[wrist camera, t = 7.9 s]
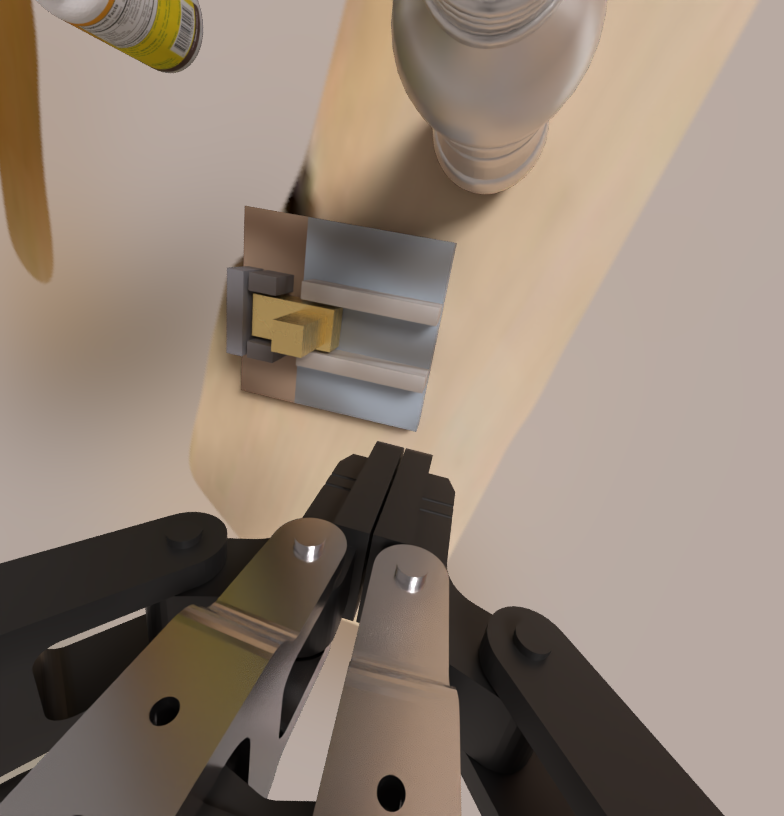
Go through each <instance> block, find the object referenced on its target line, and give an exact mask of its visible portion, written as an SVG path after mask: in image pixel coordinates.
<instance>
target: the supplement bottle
mask: <svg viewBox="0 0 784 816" xmlns="http://www.w3.org/2000/svg"><path fill="white" fill-rule="evenodd" d="M36 1H37V2H38V3H39V4H40V5H41V6H42V7H43V8H45V9H46V10H47V11H48V12H50V13H51V14H53V15H54V16H56V17H58V18H60V19H61V20H63V21H65V22H67V23H69V24H71V25H73V26H75V27H76V28H78V29H80V30H82V31H84V32H86V33H88V34H89V35H92V36H93V37H95V38H97V39H99V40H101V41H103V42H105V43H106V44H108V45H110V46H112V47H114V48H116V49H118V50H120V51H122V52H123V53H125V54H127V55H129V56H131V57H133V58H135V59H137V60H139V61H140V62H142V63H144V64H146V65H148V66H150V67H151V68H154V69H156V70H158V71H161V72H165V73H176V72H179V71H182V70H184V69H186V68H187V67H188V66H189V65H190V64H191V63H192V62H193V61H194V59H195V58H196V56H197V54H198V52H199V50H200V47H201V43H202V37H203V20H202V14H201V9H200V6H199V3H198V0H36Z"/></svg>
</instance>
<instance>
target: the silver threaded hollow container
mask: <svg viewBox="0 0 784 816" xmlns="http://www.w3.org/2000/svg"><path fill="white" fill-rule="evenodd" d="M606 7H607V0H393V7H392V19H391V29H392V46H393V52H394V57H395V62H396V66H397V71H398V74H399V76H400V79H401V81H402V84H403V86H404V89H405V91H406V93H407V95H408V97H409V98H410V100H411V101H412V103H413V105H414V106H415V108H416V109H417V111H418V112H419V113H420V115H421V116H422V117H423V118H424V119H425V121H426V122H427V123H428V124H429V125H430V126H431V127H432V128H433V143H434V148H435V153H436V156H437V158H438V161H439V164H440V166H441V167H442V169H443V170H444V172H445V174H446V175H447V176H448V177H449V178H450V179H451V180H452V181H453V182H454V183H455V184H456V185H458V186H459V187H461V188H462V189H464V190H467V191H470V192H472V193H478V194H493V193H497V192H500V191H504V190H506V189H508V188H510V187H512V186H514V185H515V184H517V183H518V182H519V181H520V180H522V179H523V178H524V177H525V176H526V175H527V174H528V173H529V172H530V170H531V169H532V168H533V167H534V165H535V164H536V162H537V160H538V159H539V157H540V155H541V153H542V150H543V148H544V145H545V143H546V138H547V134H548V129H549V120H550V119H551V118H553V117H554V115H555V114H556V113H557V112H558V111H559V110H560V108H561V107H562V106H563V105H564V104H565V102H566V101H567V100H568V99H569V97H570V96H571V95H572V94H573V92H574V91H575V90H576V88H577V86H578V85H579V83H580V81H581V80H582V78H583V76H584V75H585V73H586V71H587V70H588V68H589V66H590V63H591V61H592V58H593V56H594V53H595V51H596V48H597V46H598V44H599V41H600V37H601V32H602V28H603V24H604V20H605V16H606Z"/></svg>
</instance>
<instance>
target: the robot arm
mask: <svg viewBox="0 0 784 816" xmlns="http://www.w3.org/2000/svg"><path fill="white" fill-rule="evenodd" d="M403 453H404V455H403ZM432 456H433V455H431V454H427V453H423V452H419V451H415V450H411V449H407V448H406V450H405V452H404V448H403V447H399V446H395V445H391V444H387V443H383V442H379V441H377V443H376V444H375V446H374V448H373V450H372V452H371V454H370V455H369V457H368V458H367V457H363V456H359V455H356V454H352V455H351V456H349V457H347V458H345V459H343V460H342V461H340V462H339V463H338V465H337V466H336V468H335V469H334V471H333V472H332V475H330V477H329V478H328V480H327V481H326V484H325V485H324V486H323V487H322V489H321V490H320V492H319V493H318V495H317V496H316V498H315V499H314V501H313V502H312V504H311V506H310V507H309V509H308V510H307V512H306V513H305V515H304V516H303V518H300V519H295V520H292V521H289V522H287V523H285V524H284V525H282V526H281V527H280V528H279V529H278V530H277V531H276V532H275V533H274V534H273V535H272V536H271V538H266V539H233V538H227V529H226V526H225V524H224V523H223V522H222V521H221V520H220V519H218V518H217V517H215V516H213V515H210V514H206V513H201V512H186V513H179V514H175V515H171V516H167V517H164V518H160V519H157V520H154V521H150V522H146V523H143V524H139V525H136V526H132V527H128V528H125V529H122V530H118V531H115V532H111V533H107V534H103V535H100V536H96V537H93V538H89V539H86V540H83V541H79V542H75V543H72V544H68V545H65V546H61V547H58V548H54V549H50V550H47V551H43V552H40V553H36V554H33V555H29V556H25V557H22V558H18V559H15V560H11V561H8V562H4V563H1V564H0V777H1V776H3V775H5V774H7V773H9V772H11V771H13V770H14V769H16V768H18V767H20V766H22V765H24V764H26V763H28V762H30V761H32V760H33V759H35V758H37V757H39V756H41V755H43V754H45V753H47V752H48V753H47V754H46V755H45V756H44V757H43V758H42V759H41V760H40V761H39V762H38V763H37V765H36V766H35V767H34V768H32V769H30V770H28V771H26V772H23V773H21V774H19V775H17V776H15V777H13V778H11V779H9V780H8V781H6V782H4V783H2V784H0V816H461V775H462V777H463V779H464V781H465V783H466V785H467V787H468V789H469V791H470V793H471V795H472V797H473V799H474V801H475V803H476V805H477V808H478V810H479V811H480V813H481V816H724V815H723V814H722V812H721V811H720V810H719V809H718V808H717V807H716V806H715V805H714V804H713V802H712V801H711V800H710V799H709V798H708V797H707V796H706V795H705V793H704V792H703V791H702V790H701V789H700V788H699V786H697V784H696V783H695V782H694V781H693V780H692V779H691V777H690V776H689V775H688V774H687V773H686V772H685V771H684V770H683V768H682V767H681V766H680V765H679V764H678V763H677V762H676V760H675V759H674V758H673V757H672V756H671V755H670V754H669V752H668V751H667V750H666V749H665V748H664V747H663V746H662V745H661V743H660V742H659V741H658V740H657V739H656V738H655V737H654V736H653V734H652V733H651V732H650V731H649V730H648V729H647V728H646V726H645V725H644V724H643V723H642V722H641V721H640V720H639V719H638V717H637V716H636V715H635V714H634V713H633V712H632V711H631V709H630V708H629V707H628V706H627V705H626V704H625V703H624V702H623V700H622V699H621V698H620V697H619V696H618V695H617V694H616V692H615V691H614V690H613V689H612V688H611V687H610V686H609V685H608V684H607V682H606V681H605V680H604V679H603V678H602V677H601V675H600V674H599V673H598V672H597V671H596V670H595V669H594V668H593V666H592V665H591V664H590V663H589V662H588V661H587V660H586V658H585V657H584V656H583V655H582V654H581V653H580V652H579V651H578V649H577V648H576V647H575V646H574V645H573V644H572V643H571V641H570V640H569V639H568V638H567V637H566V636H565V635H564V634H563V632H562V631H561V630H560V629H559V628H558V627H557V626H556V625H555V624H553V623H552V622H551V621H550V620H549V619H547V618H546V617H544V616H543V615H541V614H539V613H537V612H535V611H532V610H530V609H526V608H523V607H515V606H512V607H505V608H502V609H499V610H498V611H496V612H495V613H494V614H493V615H492V614H490V613H489V612H487V611H485V610H483V609H482V608H480V607H479V606H477V605H475V604H474V603H472V602H471V601H469V600H468V599H467V598H465V597H464V596H463V595H462V594H461V593H460V592H459V591H458V590H457V589H456V587H455V586H454V585H453V583H452V581H451V579H450V577H449V575H448V571H447V558H448V549H449V541H450V532H451V523H452V515H453V506H454V498H455V491H454V489H453V487H452V485H451V483H450V481H449V479H448V478H444V477H440V476H436V475H433V474H429V469H430V465H431V461H432ZM359 603H360V605H359ZM358 606H359V611H358V616H357V621H356V622H358V623H360V624H359V628H358V632H357V637H356V641H355V645H354V649H353V654H352V658H351V661H350V663H349V666H348V670H347V674H346V678H345V682H344V687H343V691H342V695H341V699H340V704H339V708H338V712H337V716H336V720H335V724H334V729H333V733H332V737H331V741H330V745H329V750H328V754H327V758H326V763H325V766H324V771H323V775H322V779H321V783H320V787H319V792H318V796H317V800H316V802H315V801H314V802H313V801H275V800H269V799H267V797H268V794H269V791H270V788H271V786H272V783H273V780H274V776H275V773H276V769H277V766H278V763H279V760H280V758H281V755H282V752H283V750H284V748H285V745H286V743H287V741H288V739H289V737H290V735H291V732H292V730H293V728H294V726H295V724H296V722H297V720H298V718H299V716H300V713H301V711H302V709H303V707H304V705H305V703H306V701H307V699H308V696H309V694H310V692H311V690H312V688H313V686H314V684H315V681H316V679H317V677H318V675H319V673H320V671H321V669H322V667H323V665H324V662H325V660H326V658H327V656H328V653H329V651H330V646H331V642H332V640H333V638H334V636H335V634H336V631H337V629H338V626H339V624H340V621H341V618H345V619H348V620H351V621H353V620H354V617H355V614H356V611H357V609H358ZM143 608H145V610H146V614H145V615H142V616H140V617H137V618H135V619H132V620H130V621H127V622H125V623H122V624H120V625H117V626H115V627H112V628H110V629H108V630H105V631H103V632H100V633H98V634H95V635H93V636H90V637H88V638H86V639H83V640H81V641H78V642H75V643H73V644H71V645H68V646H65V647H62V648H58V649H47V648H49V647H50V646H52V645H54V644H55V643H58V642H59V641H62V640H65V639H67V638H70V637H72V636H75V635H77V634H80V633H82V632H85V631H87V630H90V629H92V628H95V627H97V626H100V625H102V624H105V623H107V622H110V621H112V620H115V619H117V618H120V617H122V616H125V615H128V614H130V613H133V612H135V611H138V610H140V609H143Z"/></svg>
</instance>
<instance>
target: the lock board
mask: <svg viewBox="0 0 784 816" xmlns="http://www.w3.org/2000/svg"><path fill="white" fill-rule="evenodd" d="M456 244H457V243H453V242H447V241H441V240H436V239H430V238H424V237H419V236H413V235H408V234H402V233H396V232H391V231H385V230H379V229H374V228H368V227H362V226H357V225H351V224H345V223H340V222H334V221H328V220H323V219H317V218H311V217H306V216H300V215H294V214H289V213H283V212H277V211H272V210H266V209H260V208H255V207H249V206H245V220H244V266H243V267H230V268H227V353H230V354H234V355H238V356H242V369H241V390H243V391H247V392H251V393H256V394H260V395H264V396H268V397H272V398H277V399H281V400H285V401H289V402H293V403H298V404H302V405H306V406H310V407H314V408H319V409H323V410H327V411H331V412H335V413H340V414H344V415H348V416H352V417H356V418H361V419H365V420H369V421H373V422H377V423H382V424H386V425H390V426H394V427H398V428H403V429H407V430H411V431H415V432H416V431H417V428H418V425H419V421H420V417H421V412H422V407H423V402H424V397H425V393H426V388H427V383H428V378H429V373H430V369H431V364H432V359H433V354H434V349H435V345H436V340H437V335H438V330H439V325H440V321H441V316H442V311H443V306H444V301H445V297H446V292H447V287H448V282H449V277H450V273H451V268H452V263H453V258H454V253H455V249H456ZM254 293H264V294H269V295H274V296H277V295H281V294H285V295H289V296H294V297H299V298H301V299H304V300H308V301H313V302H318V303H323V304H328V305H333V306H338V307H343V314H342V322H341V331H340V340H339V346H338V347H337V348H336V349H334V350H333V351H331V352H326V351H321V350H316V349H315V350H313V351H312V352H310V353H308V354H307V355H305V356H304V357H302V358H299V357H294V356H290V355H286V354H281V353H277V352H272V351H271V343H272V340H271V339H266V338H262V337H257V336H253V335H252V315H253V294H254Z"/></svg>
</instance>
